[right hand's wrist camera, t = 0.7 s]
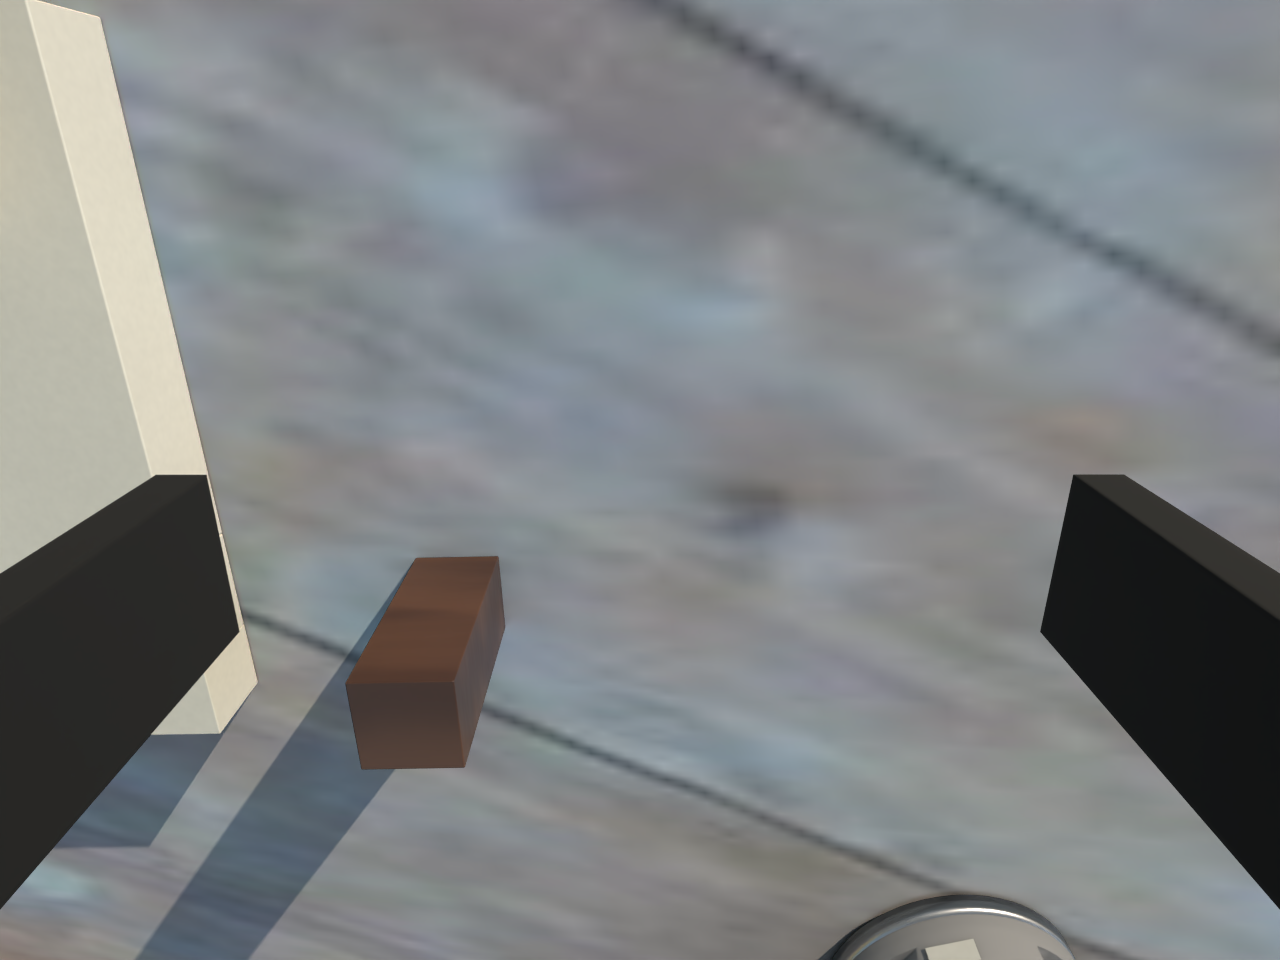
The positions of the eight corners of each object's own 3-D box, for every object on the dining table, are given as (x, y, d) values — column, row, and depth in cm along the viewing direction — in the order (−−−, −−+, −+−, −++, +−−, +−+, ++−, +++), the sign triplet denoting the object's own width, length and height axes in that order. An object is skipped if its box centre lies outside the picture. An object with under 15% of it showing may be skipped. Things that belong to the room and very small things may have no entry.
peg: (505, 627, 40) (465, 768, 31) (425, 628, 40) (361, 769, 31) (498, 556, 39) (453, 680, 29) (415, 557, 39) (344, 683, 29)
